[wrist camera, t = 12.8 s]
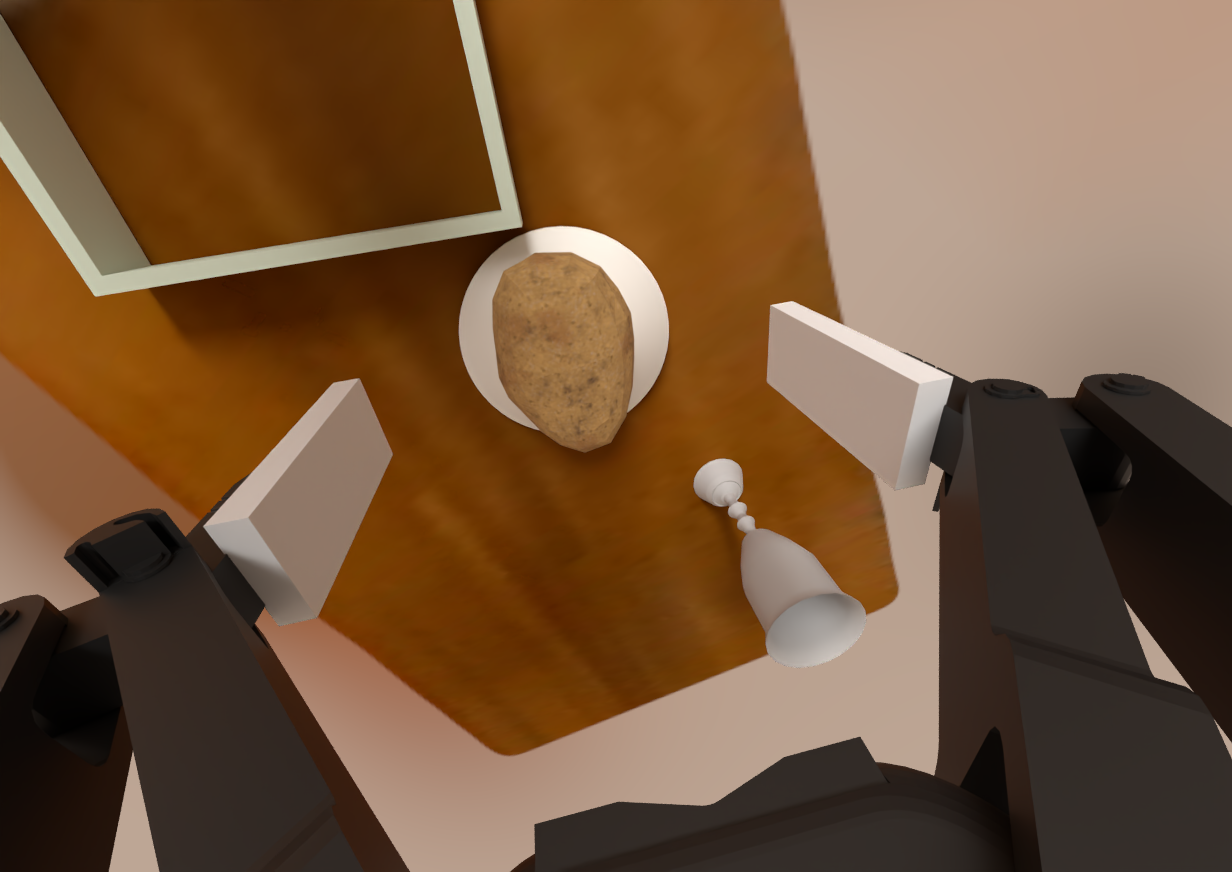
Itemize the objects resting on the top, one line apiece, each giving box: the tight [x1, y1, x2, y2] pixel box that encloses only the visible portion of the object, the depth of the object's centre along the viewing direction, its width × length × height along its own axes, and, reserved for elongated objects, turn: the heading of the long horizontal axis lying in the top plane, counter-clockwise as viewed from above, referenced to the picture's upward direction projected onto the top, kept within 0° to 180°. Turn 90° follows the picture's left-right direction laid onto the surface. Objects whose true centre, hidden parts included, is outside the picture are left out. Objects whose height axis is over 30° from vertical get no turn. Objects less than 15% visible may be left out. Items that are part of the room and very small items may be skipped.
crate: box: [0, 0, 523, 297], centre depth 25 cm, size 21×25×4 cm
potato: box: [492, 252, 634, 452], centre depth 32 cm, size 10×14×8 cm
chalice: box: [694, 459, 866, 668], centre depth 38 cm, size 7×7×18 cm
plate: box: [459, 226, 669, 430], centre depth 36 cm, size 16×16×1 cm
